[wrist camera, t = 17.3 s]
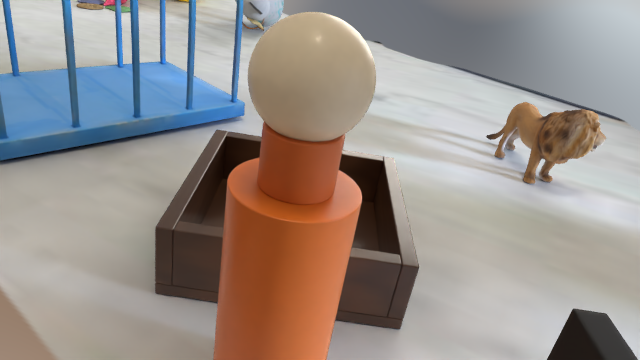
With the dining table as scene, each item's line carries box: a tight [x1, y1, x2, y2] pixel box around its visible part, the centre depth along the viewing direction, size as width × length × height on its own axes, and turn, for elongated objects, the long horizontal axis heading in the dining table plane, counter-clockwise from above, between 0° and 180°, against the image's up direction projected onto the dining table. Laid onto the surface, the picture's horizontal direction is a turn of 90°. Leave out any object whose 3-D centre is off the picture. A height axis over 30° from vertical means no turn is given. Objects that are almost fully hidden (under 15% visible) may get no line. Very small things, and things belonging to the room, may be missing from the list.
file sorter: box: [0, 0, 245, 160], centre depth 49 cm, size 25×17×15 cm
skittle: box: [213, 12, 376, 360], centre depth 20 cm, size 5×5×18 cm
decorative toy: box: [235, 0, 284, 31], centre depth 99 cm, size 12×10×20 cm
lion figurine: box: [486, 102, 606, 184], centre depth 55 cm, size 15×5×9 cm, turn 18°
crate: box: [155, 130, 419, 329], centre depth 35 cm, size 15×15×5 cm
